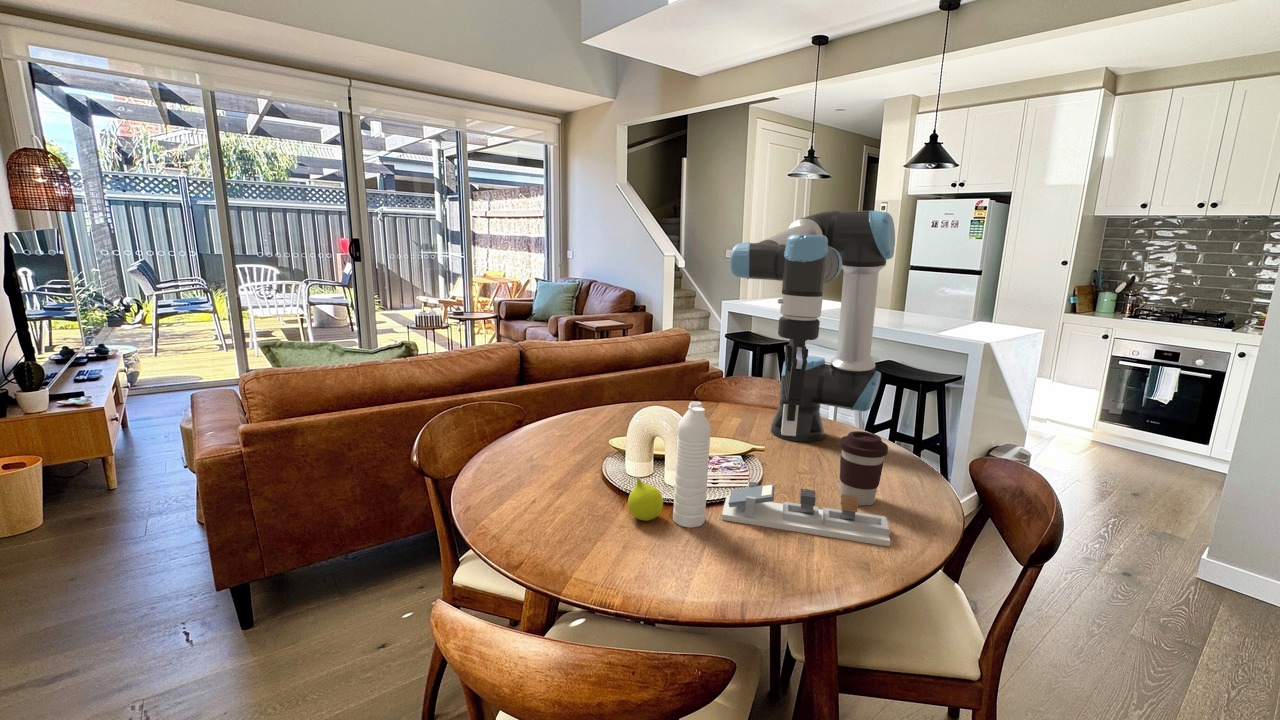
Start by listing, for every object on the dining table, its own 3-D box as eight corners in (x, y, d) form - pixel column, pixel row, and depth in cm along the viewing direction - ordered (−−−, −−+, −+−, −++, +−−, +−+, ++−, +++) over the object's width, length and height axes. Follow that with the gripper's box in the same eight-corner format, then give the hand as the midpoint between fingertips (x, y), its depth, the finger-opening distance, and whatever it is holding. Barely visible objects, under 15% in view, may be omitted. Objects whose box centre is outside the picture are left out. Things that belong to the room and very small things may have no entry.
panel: (726, 500, 123) (728, 476, 122) (882, 524, 115) (886, 498, 114) (721, 519, 115) (723, 494, 114) (889, 546, 107) (893, 519, 106)
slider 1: (798, 510, 116) (801, 488, 115) (812, 512, 116) (815, 490, 115) (798, 518, 113) (801, 495, 112) (813, 520, 113) (815, 497, 111)
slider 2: (838, 516, 114) (841, 494, 113) (853, 519, 114) (856, 496, 113) (840, 524, 111) (842, 501, 110) (855, 527, 111) (858, 503, 110)
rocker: (733, 493, 121) (731, 488, 121) (774, 487, 119) (773, 482, 118) (729, 507, 115) (728, 502, 115) (773, 501, 112) (772, 496, 112)
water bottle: (671, 512, 117) (677, 397, 112) (702, 512, 117) (709, 398, 112) (675, 533, 109) (681, 410, 103) (708, 534, 109) (716, 411, 103)
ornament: (622, 512, 116) (624, 467, 114) (654, 508, 119) (656, 463, 117) (634, 529, 110) (636, 482, 108) (667, 524, 112) (670, 477, 110)
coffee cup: (884, 512, 120) (894, 446, 117) (836, 506, 122) (844, 441, 119) (875, 492, 130) (883, 431, 127) (830, 487, 132) (837, 426, 129)
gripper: (776, 311, 114) (767, 422, 119) (782, 320, 101) (771, 444, 106) (814, 313, 113) (803, 425, 118) (825, 323, 100) (812, 447, 105)
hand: (788, 434), depth 112 cm, fingers closed
